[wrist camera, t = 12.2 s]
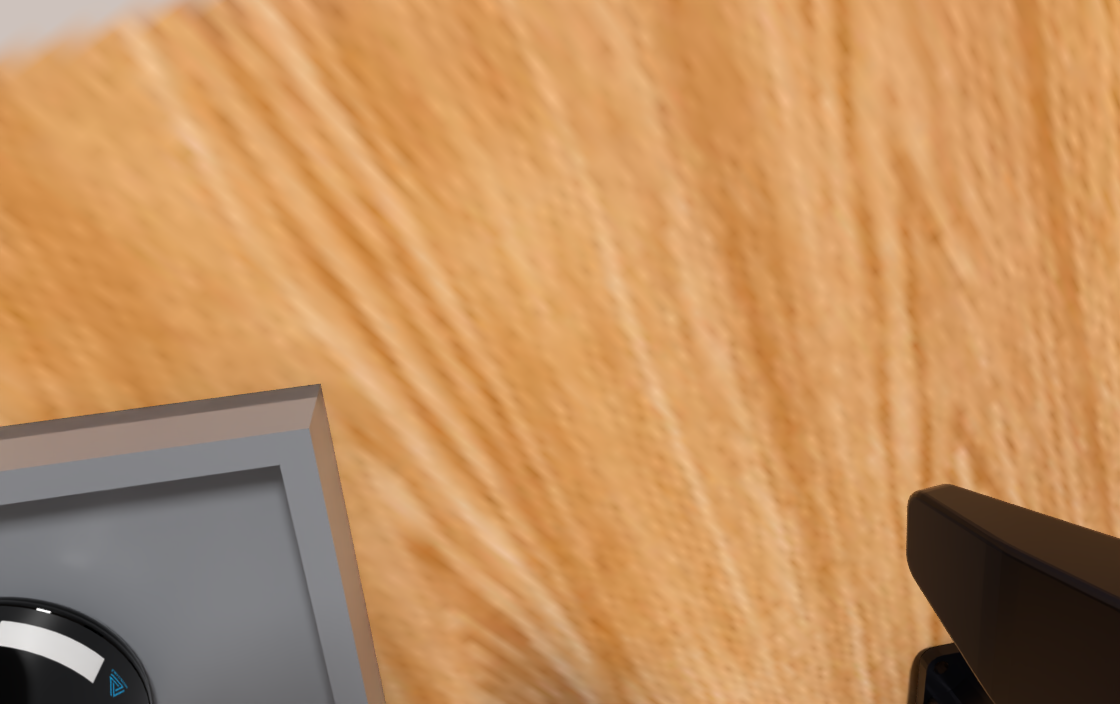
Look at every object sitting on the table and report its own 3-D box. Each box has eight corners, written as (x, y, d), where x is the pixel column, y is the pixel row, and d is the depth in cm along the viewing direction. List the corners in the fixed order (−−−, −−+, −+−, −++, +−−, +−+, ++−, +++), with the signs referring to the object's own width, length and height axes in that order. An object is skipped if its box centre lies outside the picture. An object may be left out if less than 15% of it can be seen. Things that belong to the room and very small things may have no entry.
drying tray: (320, 383, 22) (309, 427, 19) (404, 795, 27) (403, 868, 25) (-391, 479, 20) (-497, 540, 18) (-152, 899, 25) (-209, 988, 23)
